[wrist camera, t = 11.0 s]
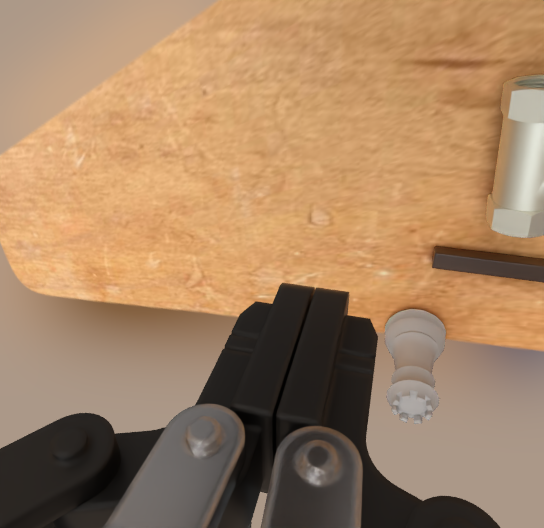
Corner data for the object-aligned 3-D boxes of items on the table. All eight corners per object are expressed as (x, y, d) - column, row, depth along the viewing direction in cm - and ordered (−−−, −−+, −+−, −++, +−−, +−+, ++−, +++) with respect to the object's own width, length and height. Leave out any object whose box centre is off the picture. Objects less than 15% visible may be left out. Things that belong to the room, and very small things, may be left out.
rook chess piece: (419, 359, 38) (418, 443, 32) (373, 330, 38) (361, 408, 31) (459, 327, 35) (466, 411, 29) (409, 295, 35) (405, 372, 29)
